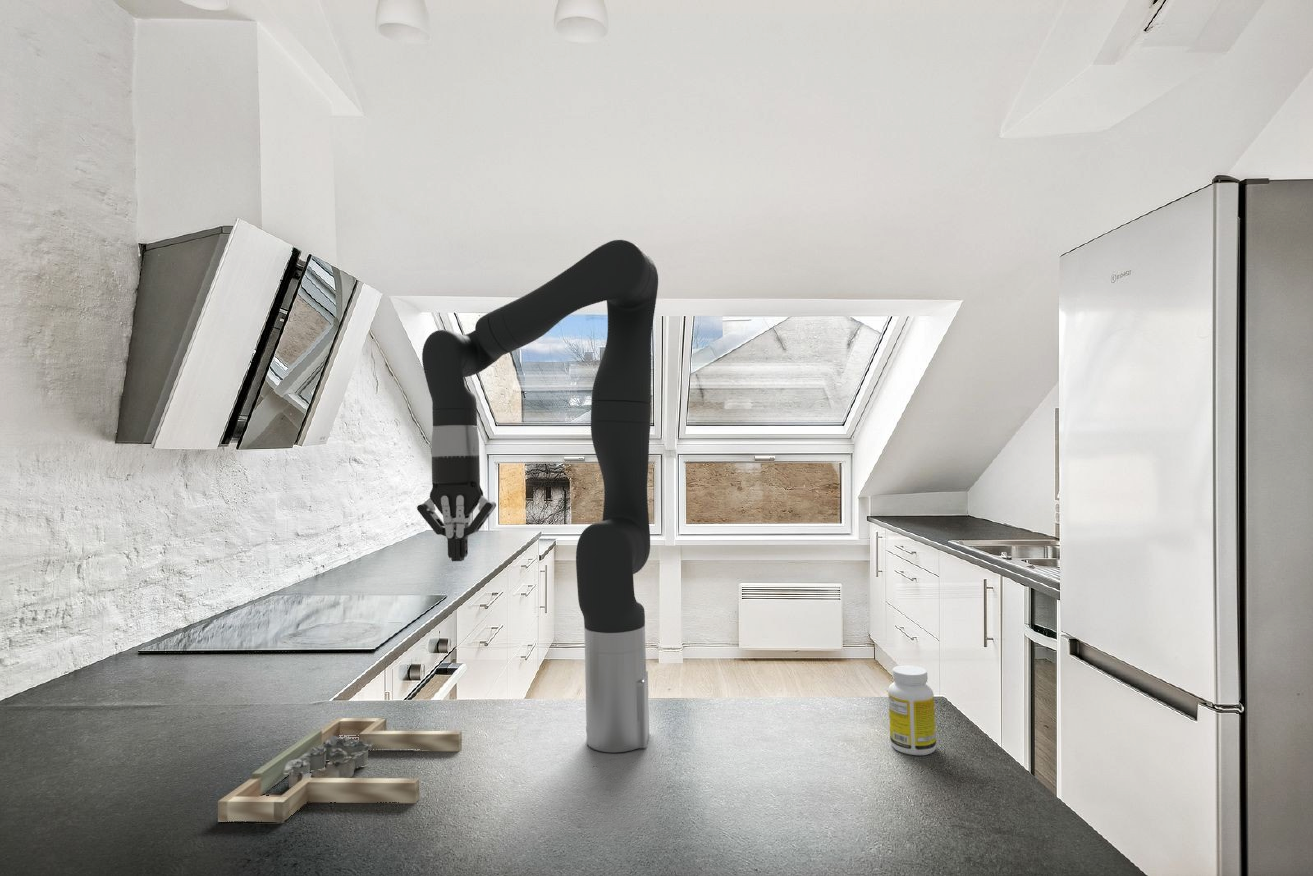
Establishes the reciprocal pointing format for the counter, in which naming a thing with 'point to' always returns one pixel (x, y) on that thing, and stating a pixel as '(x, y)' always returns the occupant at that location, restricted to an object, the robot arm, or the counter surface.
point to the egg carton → (340, 756)
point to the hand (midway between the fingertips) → (457, 560)
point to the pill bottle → (911, 711)
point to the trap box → (340, 790)
